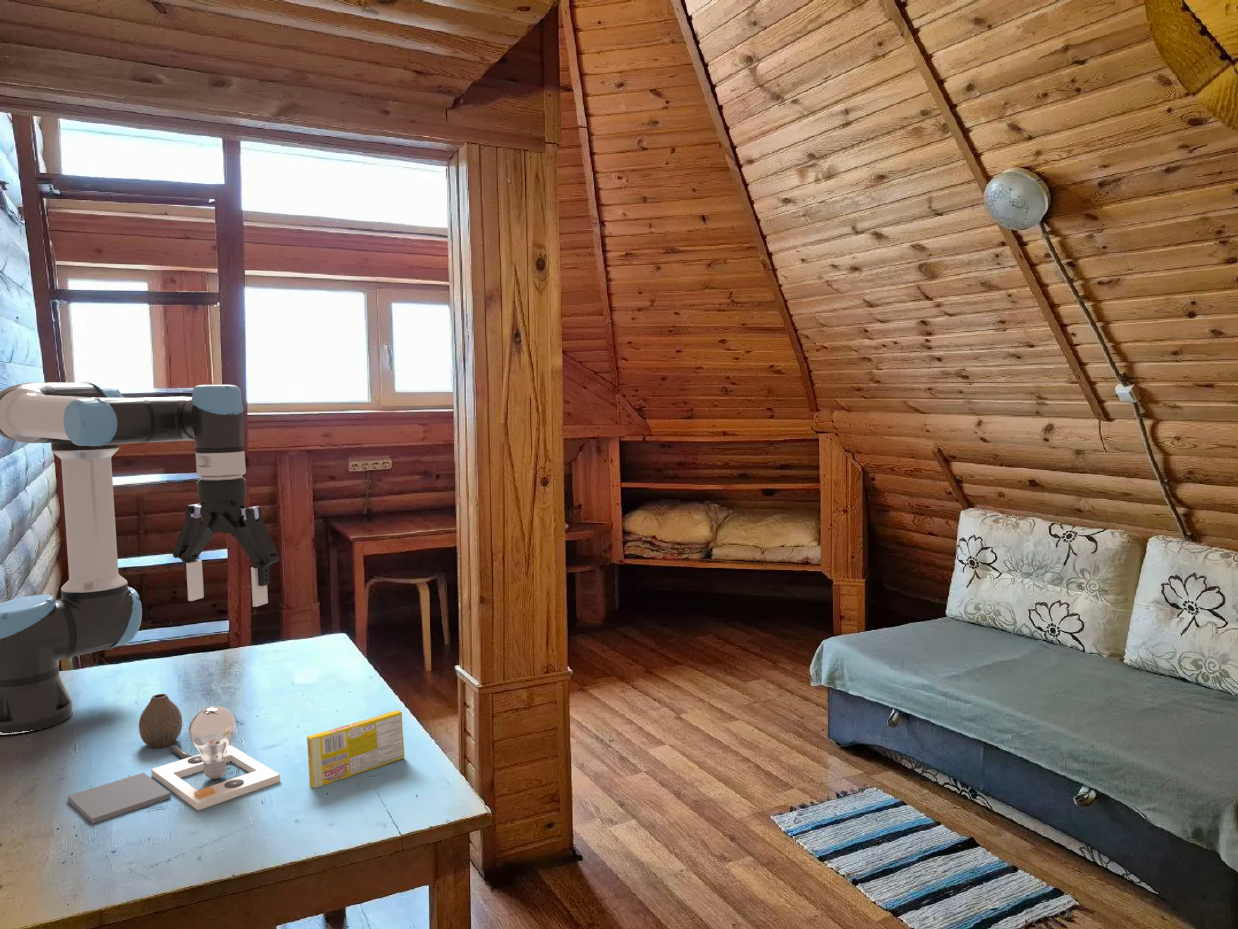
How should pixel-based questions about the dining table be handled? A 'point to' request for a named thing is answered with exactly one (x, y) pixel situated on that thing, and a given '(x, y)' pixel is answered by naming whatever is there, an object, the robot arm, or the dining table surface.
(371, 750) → the candy box
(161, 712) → the vase
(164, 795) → the felt pad
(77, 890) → the dining table surface
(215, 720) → the light bulb
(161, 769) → the white square frame
